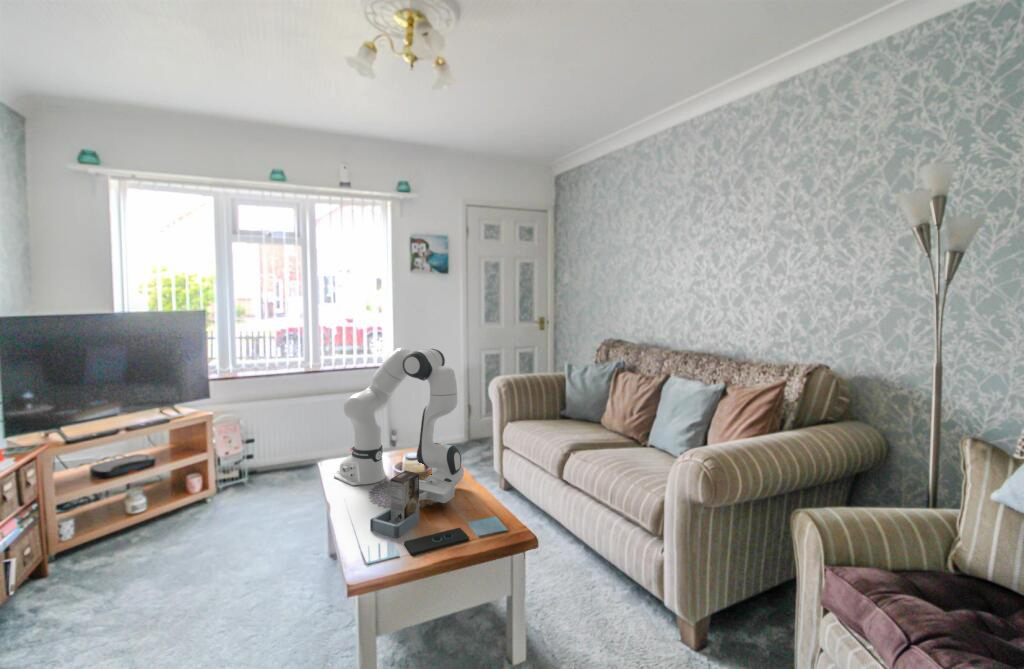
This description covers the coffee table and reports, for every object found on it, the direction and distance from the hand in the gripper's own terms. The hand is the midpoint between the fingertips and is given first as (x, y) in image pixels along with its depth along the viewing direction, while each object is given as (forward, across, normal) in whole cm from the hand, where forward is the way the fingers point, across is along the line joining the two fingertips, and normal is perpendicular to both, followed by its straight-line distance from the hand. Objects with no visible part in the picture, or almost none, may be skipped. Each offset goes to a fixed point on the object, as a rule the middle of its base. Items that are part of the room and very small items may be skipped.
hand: (414, 498), depth 178 cm
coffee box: (+4, -1, +6) cm, 8 cm away
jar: (-38, -18, +6) cm, 42 cm away
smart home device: (+13, +19, +7) cm, 24 cm away
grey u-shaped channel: (+10, 0, +6) cm, 12 cm away
